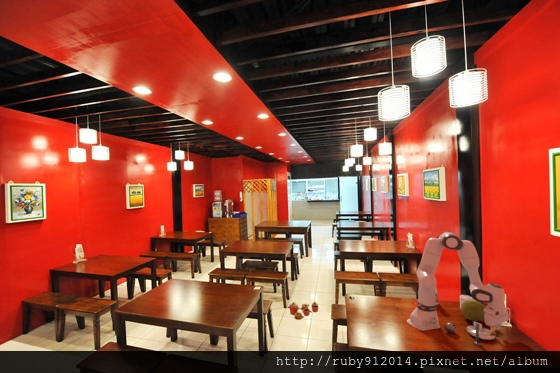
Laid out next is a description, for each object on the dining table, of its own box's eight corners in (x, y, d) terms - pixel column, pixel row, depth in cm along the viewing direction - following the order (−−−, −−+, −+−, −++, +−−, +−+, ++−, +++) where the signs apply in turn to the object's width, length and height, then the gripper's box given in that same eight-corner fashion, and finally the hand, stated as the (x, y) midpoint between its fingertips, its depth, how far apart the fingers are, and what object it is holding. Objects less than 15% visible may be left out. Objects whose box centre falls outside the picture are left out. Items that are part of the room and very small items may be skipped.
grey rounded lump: (445, 321, 176) (442, 324, 173) (454, 323, 172) (452, 325, 169) (447, 330, 176) (444, 333, 173) (457, 332, 171) (454, 335, 168)
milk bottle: (425, 302, 217) (424, 279, 218) (433, 301, 218) (433, 278, 218) (431, 306, 210) (430, 282, 210) (440, 305, 210) (439, 282, 210)
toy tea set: (297, 322, 192) (296, 309, 192) (285, 314, 205) (285, 302, 205) (321, 311, 207) (321, 300, 207) (309, 305, 219) (309, 294, 220)
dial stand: (479, 346, 156) (478, 325, 156) (471, 342, 160) (471, 322, 160) (483, 345, 158) (482, 324, 158) (475, 341, 162) (475, 321, 162)
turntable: (486, 342, 158) (485, 331, 159) (461, 330, 172) (461, 319, 172) (500, 336, 164) (500, 325, 164) (475, 325, 178) (475, 315, 178)
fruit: (484, 318, 189) (484, 298, 189) (491, 327, 176) (490, 306, 176) (459, 314, 196) (458, 295, 196) (463, 323, 183) (463, 302, 183)
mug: (476, 308, 204) (475, 296, 204) (480, 313, 196) (479, 300, 196) (458, 306, 208) (458, 294, 208) (462, 311, 200) (461, 298, 200)
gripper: (500, 303, 174) (500, 323, 173) (482, 309, 166) (482, 330, 166) (511, 307, 168) (512, 328, 168) (493, 314, 160) (493, 335, 160)
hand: (497, 329), depth 167 cm, fingers closed
